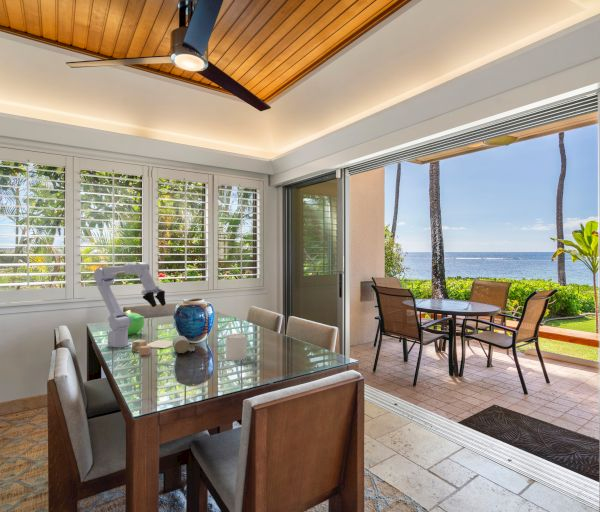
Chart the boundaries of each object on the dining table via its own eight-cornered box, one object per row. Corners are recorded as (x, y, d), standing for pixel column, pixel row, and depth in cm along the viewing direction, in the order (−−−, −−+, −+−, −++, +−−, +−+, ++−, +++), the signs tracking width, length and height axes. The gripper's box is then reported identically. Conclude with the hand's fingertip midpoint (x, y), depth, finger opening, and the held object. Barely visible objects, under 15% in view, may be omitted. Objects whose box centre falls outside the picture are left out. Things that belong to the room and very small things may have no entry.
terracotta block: (139, 356, 178) (139, 347, 178) (142, 353, 182) (142, 345, 182) (147, 355, 178) (148, 347, 178) (150, 353, 182) (150, 345, 182)
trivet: (142, 347, 194) (142, 345, 194) (158, 340, 208) (158, 339, 208) (165, 348, 191) (165, 347, 191) (180, 342, 205) (180, 341, 205)
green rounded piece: (142, 330, 234) (142, 308, 234) (146, 336, 220) (146, 311, 220) (110, 333, 225) (110, 310, 225) (112, 339, 211) (112, 314, 211)
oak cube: (131, 351, 186) (132, 341, 186) (138, 348, 191) (138, 339, 191) (140, 352, 185) (140, 342, 185) (146, 349, 190) (146, 340, 190)
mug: (224, 353, 184) (224, 332, 183) (245, 352, 186) (245, 331, 186) (226, 361, 170) (226, 338, 170) (247, 360, 173) (248, 337, 173)
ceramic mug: (174, 355, 180) (174, 339, 180) (172, 351, 187) (172, 336, 187) (196, 353, 185) (196, 337, 185) (193, 349, 192) (193, 334, 192)
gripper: (144, 279, 182) (156, 302, 180) (162, 278, 196) (173, 300, 194) (134, 286, 184) (145, 309, 181) (152, 285, 198) (163, 307, 195)
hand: (159, 305), depth 188 cm, fingers open, 7 cm apart
